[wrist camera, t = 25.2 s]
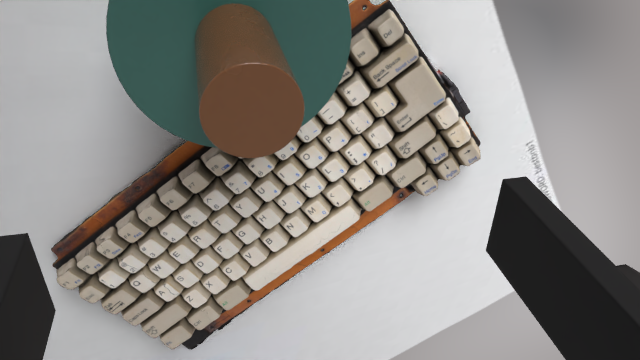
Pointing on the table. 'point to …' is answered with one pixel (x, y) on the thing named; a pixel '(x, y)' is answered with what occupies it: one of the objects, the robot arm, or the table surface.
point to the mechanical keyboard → (272, 194)
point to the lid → (230, 66)
